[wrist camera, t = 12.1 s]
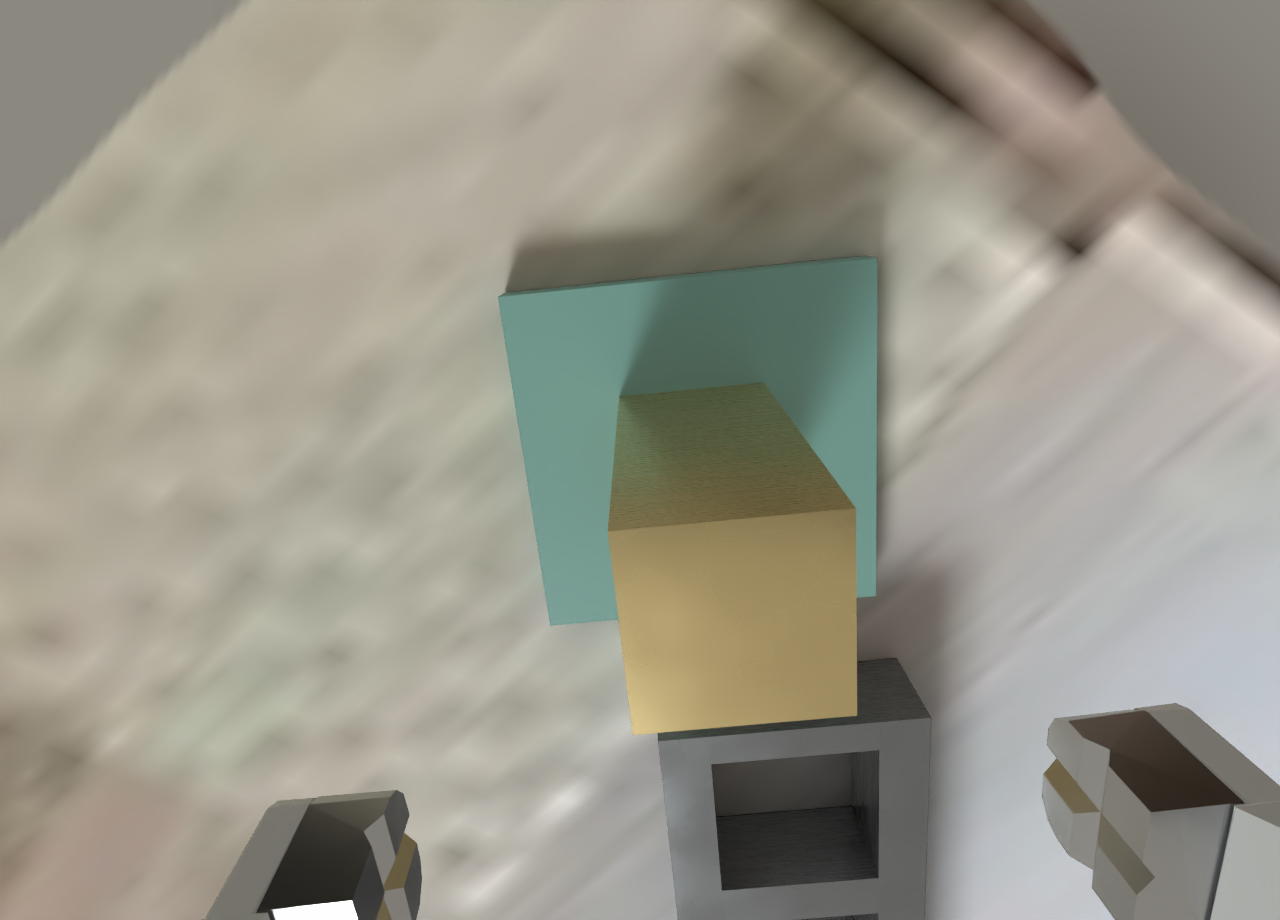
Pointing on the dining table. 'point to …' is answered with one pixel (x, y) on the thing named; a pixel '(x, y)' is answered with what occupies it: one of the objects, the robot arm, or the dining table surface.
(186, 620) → the dining table surface
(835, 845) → the grey peg holder tray
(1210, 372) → the dining table surface
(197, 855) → the dining table surface
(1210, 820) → the robot arm
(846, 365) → the teal board
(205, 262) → the dining table surface
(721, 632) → the brass peg
